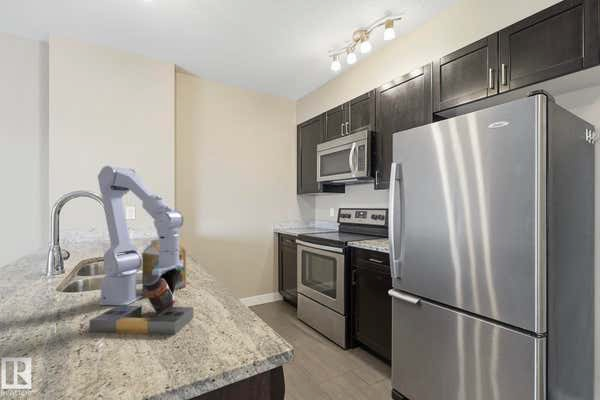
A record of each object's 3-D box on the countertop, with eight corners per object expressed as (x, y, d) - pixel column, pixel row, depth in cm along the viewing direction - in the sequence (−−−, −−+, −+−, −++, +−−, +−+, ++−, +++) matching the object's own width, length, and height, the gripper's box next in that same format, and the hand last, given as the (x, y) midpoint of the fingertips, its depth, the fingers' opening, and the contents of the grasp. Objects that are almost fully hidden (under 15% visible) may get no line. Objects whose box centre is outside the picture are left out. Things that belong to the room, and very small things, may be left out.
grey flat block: (89, 332, 70) (89, 319, 70) (117, 316, 80) (117, 305, 80) (175, 334, 69) (175, 321, 69) (193, 318, 79) (193, 306, 79)
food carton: (168, 283, 114) (168, 236, 114) (185, 287, 108) (185, 237, 109) (142, 290, 104) (142, 239, 105) (159, 295, 99) (160, 240, 99)
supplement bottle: (178, 296, 87) (166, 271, 81) (170, 314, 82) (156, 288, 76) (160, 296, 87) (147, 270, 81) (150, 313, 83) (135, 287, 76)
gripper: (169, 254, 80) (169, 303, 79) (192, 246, 94) (192, 287, 94) (145, 254, 80) (145, 302, 80) (171, 246, 95) (171, 287, 94)
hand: (169, 294), depth 87 cm, fingers closed, pressing on supplement bottle
